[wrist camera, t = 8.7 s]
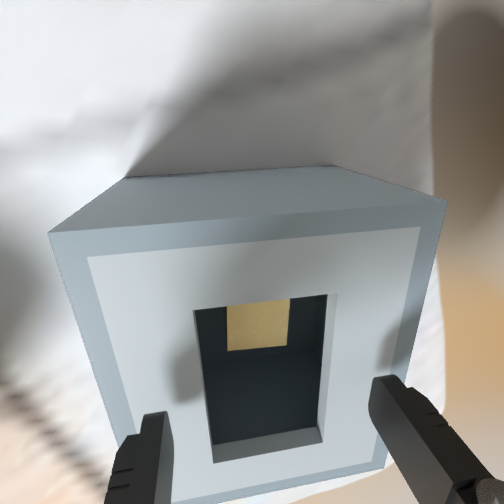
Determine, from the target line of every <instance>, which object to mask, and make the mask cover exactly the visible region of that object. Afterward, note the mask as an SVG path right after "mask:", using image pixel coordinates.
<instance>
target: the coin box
mask: <svg viewBox="0 0 504 504" xmlns="http://www.w3.org/2000/svg"><path fill="white" fill-rule="evenodd" d="M447 204H448V201H447V200H444V199H440V198H437V197H434V196H431V195H427V194H424V193H421V192H418V191H415V190H411V189H408V188H405V187H402V186H398V185H395V184H392V183H389V182H386V181H382V180H379V179H376V178H373V177H370V176H366V175H363V174H360V173H357V172H353V171H350V170H347V169H344V168H341V167H337V166H334V165H329V166H312V167H295V168H277V169H260V170H243V171H226V172H208V173H191V174H174V175H156V176H139V177H124V178H123V179H121V180H120V181H118V182H117V183H116V184H114V185H113V186H111V187H110V188H109V189H107V190H106V191H105V192H103V193H102V194H100V195H99V196H98V197H96V198H95V199H93V200H92V201H91V202H89V203H88V204H87V205H85V206H84V207H82V208H81V209H80V210H78V211H77V212H75V213H74V214H73V215H71V216H70V217H69V218H67V219H66V220H64V221H63V222H62V223H60V224H59V225H58V226H56V227H55V228H53V229H52V230H51V231H49V232H48V233H47V234H48V237H49V240H50V243H51V246H52V249H53V252H54V255H55V258H56V261H57V264H58V267H59V270H60V273H61V276H62V279H63V282H64V285H65V288H66V291H67V294H68V297H69V300H70V303H71V306H72V309H73V312H74V315H75V318H76V321H77V324H78V327H79V330H80V333H81V336H82V339H83V342H84V345H85V348H86V351H87V354H88V357H89V360H90V363H91V366H92V369H93V372H94V375H95V378H96V381H97V384H98V387H99V390H100V393H101V396H102V399H103V402H104V405H105V408H106V411H107V414H108V417H109V420H110V423H111V426H112V429H113V432H114V435H115V438H116V441H117V444H118V447H119V448H120V446H121V445H122V443H123V441H124V440H125V438H126V437H127V435H133V434H139V433H140V429H141V423H142V419H143V416H144V414H149V413H155V412H161V411H167V412H168V416H169V421H170V425H171V430H172V435H173V440H174V467H173V481H172V495H171V504H217V503H222V502H226V501H231V500H236V499H240V498H245V497H250V496H255V495H259V494H264V493H269V492H274V491H278V490H283V489H288V488H293V487H297V486H302V485H307V484H311V483H316V482H321V481H326V480H330V479H335V478H340V477H345V476H349V475H354V474H359V473H364V472H368V471H373V470H378V469H382V468H384V466H385V461H386V457H387V453H388V449H387V447H386V445H385V444H384V442H383V440H382V439H381V437H380V435H379V433H378V432H377V430H376V428H375V427H374V425H373V423H372V421H371V418H370V415H369V411H368V402H369V396H370V391H371V385H372V380H373V378H374V377H379V376H385V375H391V374H394V375H396V376H397V377H399V379H400V380H401V381H402V382H403V384H404V382H405V378H406V374H407V370H408V366H409V362H410V358H411V353H412V349H413V345H414V341H415V337H416V333H417V328H418V324H419V320H420V316H421V312H422V308H423V304H424V299H425V295H426V291H427V287H428V283H429V279H430V274H431V270H432V266H433V262H434V258H435V254H436V250H437V245H438V241H439V237H440V232H441V229H442V224H443V221H444V216H445V212H446V208H447ZM283 299H290V309H289V320H288V332H287V343H286V345H284V346H274V347H264V348H253V349H243V350H233V351H228V350H227V343H226V335H225V327H224V319H223V311H222V307H225V306H233V305H241V304H250V303H258V302H266V301H274V300H283Z"/></svg>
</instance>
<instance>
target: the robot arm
mask: <svg viewBox="0 0 504 504" xmlns="http://www.w3.org/2000/svg"><path fill="white" fill-rule="evenodd" d="M368 411H369V415H370V418H371V421H372V423H373V425H374V427H375V428H376V430H377V432H378V433H379V435H380V437H381V439H382V440H383V442H384V444H385V445H386V447H387V449H388V451H389V452H390V454H391V456H392V458H393V459H394V461H395V463H396V464H397V466H398V468H399V470H400V471H401V473H402V475H403V476H404V478H405V480H406V482H407V483H408V485H409V487H410V489H411V490H412V492H413V494H414V495H415V497H416V499H417V501H418V502H419V504H504V481H501V480H498V479H495V478H494V477H493V476H492V475H491V474H490V473H489V472H488V470H487V469H486V468H485V467H484V466H483V465H482V463H481V462H480V461H479V460H478V458H477V457H476V456H475V455H474V454H473V453H472V451H471V450H470V449H469V448H468V446H467V445H466V444H465V443H464V442H463V440H462V439H461V438H460V437H459V436H458V435H457V433H456V432H455V431H454V430H453V429H452V427H451V426H449V425H448V422H447V421H446V420H445V419H444V418H443V416H442V415H440V414H439V412H438V410H437V409H436V408H435V407H434V406H433V404H432V403H431V402H430V401H429V400H428V398H427V397H425V396H424V395H422V394H421V393H420V392H418V391H417V390H416V389H414V388H413V387H410V388H406V386H405V385H404V384H403V382H402V381H401V380H400V379H399V377H397V376H396V375H394V374H391V375H385V376H379V377H374V378H373V380H372V385H371V391H370V396H369V402H368ZM173 467H174V440H173V435H172V430H171V425H170V421H169V416H168V412H167V411H161V412H155V413H149V414H144V416H143V419H142V423H141V429H140V433H139V434H133V435H127V437H126V438H125V440H124V441H123V443H122V445H121V446H120V448H119V449H118V451H117V453H116V456H115V460H114V464H113V468H112V475H111V476H110V480H109V485H108V491H107V493H106V497H105V501H104V504H171V495H172V481H173Z"/></svg>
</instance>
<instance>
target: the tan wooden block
mask: <svg viewBox="0 0 504 504" xmlns="http://www.w3.org/2000/svg"><path fill="white" fill-rule="evenodd" d="M289 309H290V299H283V300H274V301H266V302H258V303H250V304H241V305H233V306H225V307H222V311H223V319H224V327H225V335H226V343H227V350H228V351H233V350H243V349H253V348H264V347H274V346H284V345H286V343H287V332H288V320H289Z"/></svg>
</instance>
